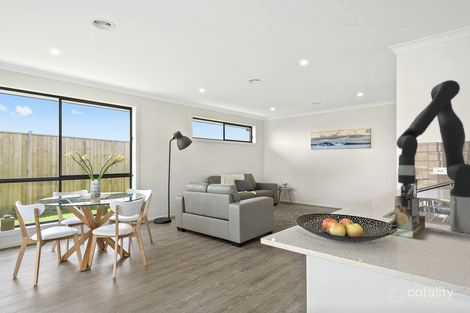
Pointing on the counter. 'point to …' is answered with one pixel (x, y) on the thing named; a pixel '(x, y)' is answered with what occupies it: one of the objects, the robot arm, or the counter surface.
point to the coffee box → (407, 213)
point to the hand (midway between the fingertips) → (406, 205)
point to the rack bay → (411, 234)
